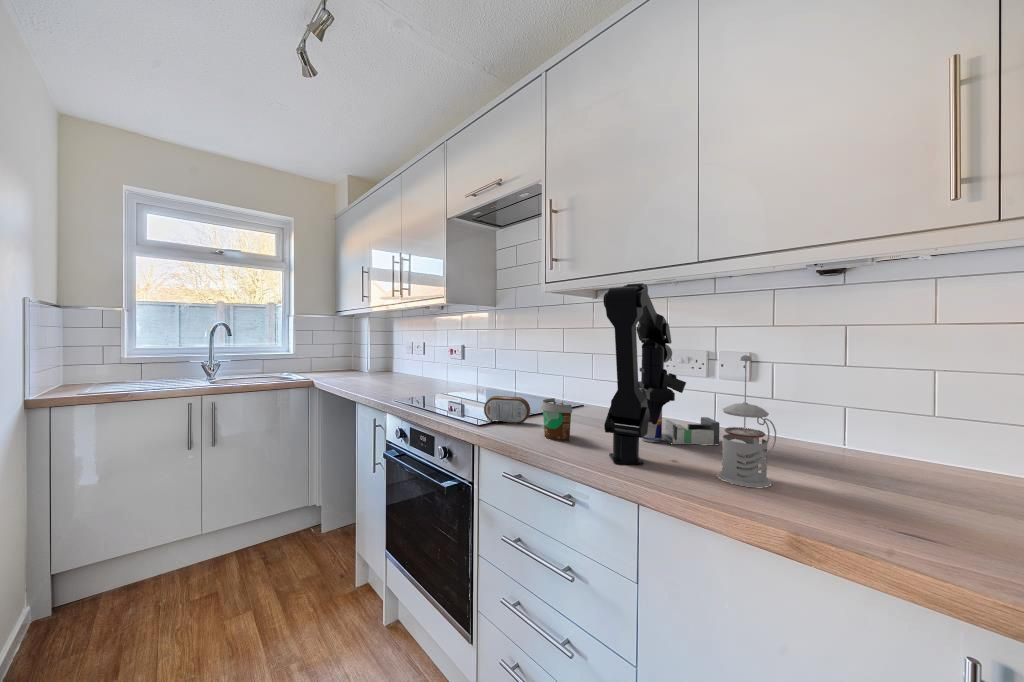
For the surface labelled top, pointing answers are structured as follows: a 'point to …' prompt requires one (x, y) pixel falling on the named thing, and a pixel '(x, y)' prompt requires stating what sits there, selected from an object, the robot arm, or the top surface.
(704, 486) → the top surface
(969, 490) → the top surface
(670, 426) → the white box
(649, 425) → the energy drink
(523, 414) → the tin
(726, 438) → the french press
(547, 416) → the food container
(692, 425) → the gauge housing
